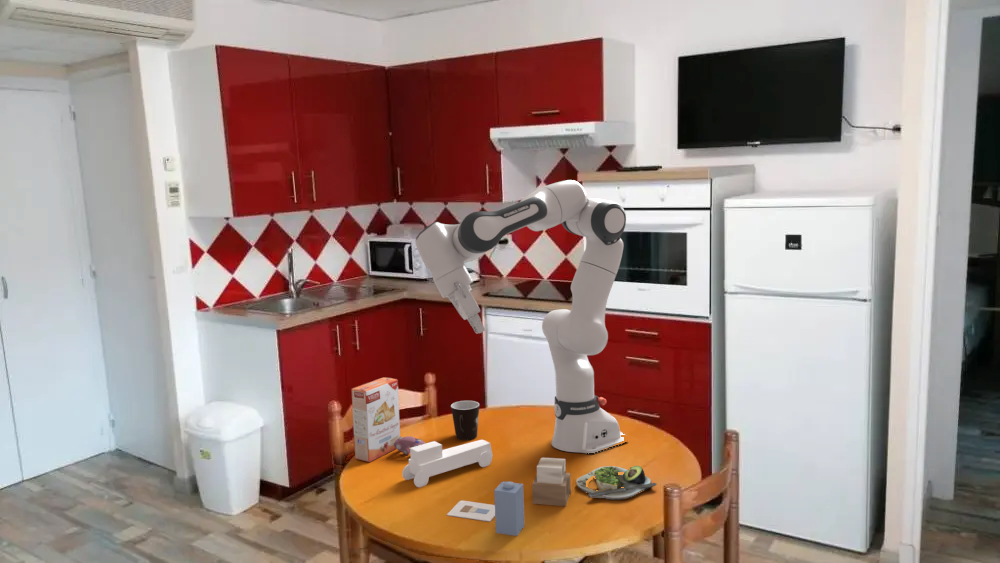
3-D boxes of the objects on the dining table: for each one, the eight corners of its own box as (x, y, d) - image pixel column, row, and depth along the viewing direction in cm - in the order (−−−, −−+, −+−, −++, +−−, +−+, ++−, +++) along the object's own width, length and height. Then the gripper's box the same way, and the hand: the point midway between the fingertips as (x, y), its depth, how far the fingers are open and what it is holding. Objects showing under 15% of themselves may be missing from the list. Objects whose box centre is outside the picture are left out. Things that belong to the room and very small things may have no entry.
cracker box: (370, 463, 210) (365, 391, 207) (354, 459, 213) (349, 388, 210) (402, 447, 221) (398, 378, 218) (386, 443, 225) (382, 376, 221)
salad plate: (616, 513, 175) (615, 494, 174) (559, 491, 188) (559, 474, 187) (664, 487, 188) (664, 470, 187) (608, 468, 201) (607, 452, 200)
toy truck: (415, 489, 192) (413, 455, 190) (401, 481, 197) (399, 447, 196) (494, 464, 206) (492, 432, 205) (479, 457, 212) (478, 426, 211)
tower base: (539, 489, 188) (538, 455, 187) (570, 492, 186) (570, 457, 185) (532, 503, 181) (531, 468, 179) (565, 506, 179) (564, 470, 177)
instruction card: (460, 501, 184) (460, 499, 184) (502, 506, 180) (502, 505, 180) (446, 515, 176) (446, 514, 176) (490, 521, 172) (489, 520, 172)
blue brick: (503, 522, 172) (502, 478, 170) (524, 525, 170) (523, 480, 168) (495, 532, 167) (494, 486, 165) (516, 536, 165) (515, 489, 164)
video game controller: (396, 458, 217) (389, 441, 213) (402, 447, 220) (396, 430, 216) (426, 462, 213) (420, 445, 209) (432, 450, 216) (426, 433, 213)
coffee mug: (464, 430, 234) (462, 399, 232) (486, 434, 229) (485, 403, 227) (440, 441, 225) (438, 409, 223) (462, 446, 220) (461, 414, 218)
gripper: (468, 274, 179) (495, 325, 179) (464, 281, 200) (488, 327, 199) (445, 287, 178) (472, 338, 178) (443, 292, 199) (467, 338, 198)
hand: (480, 332), depth 189 cm, fingers open, 8 cm apart
